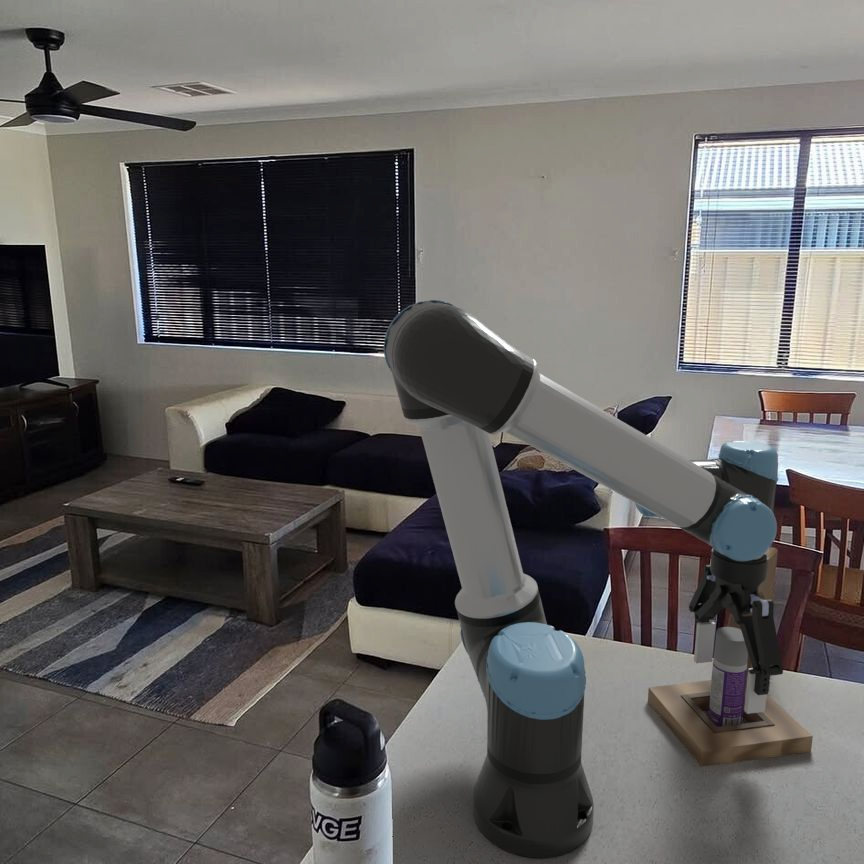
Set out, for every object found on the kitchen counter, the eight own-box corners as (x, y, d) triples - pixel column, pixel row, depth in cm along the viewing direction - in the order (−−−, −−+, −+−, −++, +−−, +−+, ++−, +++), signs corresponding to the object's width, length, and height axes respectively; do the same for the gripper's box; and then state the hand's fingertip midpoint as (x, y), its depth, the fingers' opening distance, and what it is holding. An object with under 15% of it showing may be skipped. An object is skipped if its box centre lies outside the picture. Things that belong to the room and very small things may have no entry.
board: (700, 766, 104) (702, 749, 103) (647, 701, 119) (648, 686, 118) (810, 751, 107) (812, 734, 106) (745, 689, 122) (746, 674, 121)
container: (744, 722, 114) (752, 631, 110) (737, 738, 110) (746, 644, 106) (712, 712, 116) (719, 623, 113) (704, 728, 112) (712, 636, 109)
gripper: (823, 584, 95) (805, 732, 100) (716, 519, 119) (705, 641, 124) (770, 589, 94) (754, 739, 99) (672, 522, 118) (663, 645, 123)
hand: (727, 685), depth 111 cm, fingers open, 13 cm apart
